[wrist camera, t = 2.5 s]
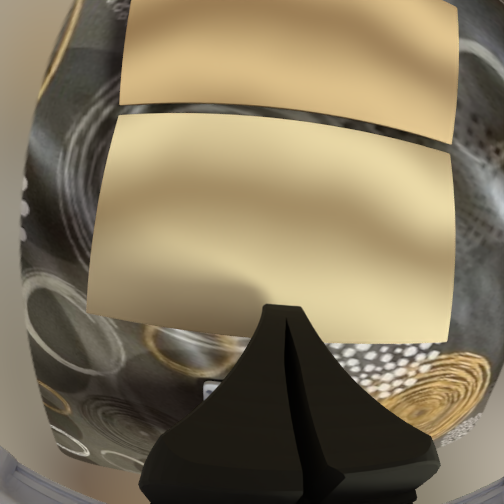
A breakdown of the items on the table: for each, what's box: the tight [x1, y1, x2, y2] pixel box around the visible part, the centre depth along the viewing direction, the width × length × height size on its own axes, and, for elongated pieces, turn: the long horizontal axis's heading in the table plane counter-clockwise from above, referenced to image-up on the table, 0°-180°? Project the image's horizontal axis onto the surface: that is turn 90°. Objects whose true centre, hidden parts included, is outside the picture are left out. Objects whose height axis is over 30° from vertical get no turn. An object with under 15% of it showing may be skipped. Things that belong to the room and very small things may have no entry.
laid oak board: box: [119, 0, 459, 144], centre depth 11 cm, size 8×16×2 cm, turn 85°
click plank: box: [86, 113, 455, 344], centre depth 12 cm, size 9×16×2 cm
